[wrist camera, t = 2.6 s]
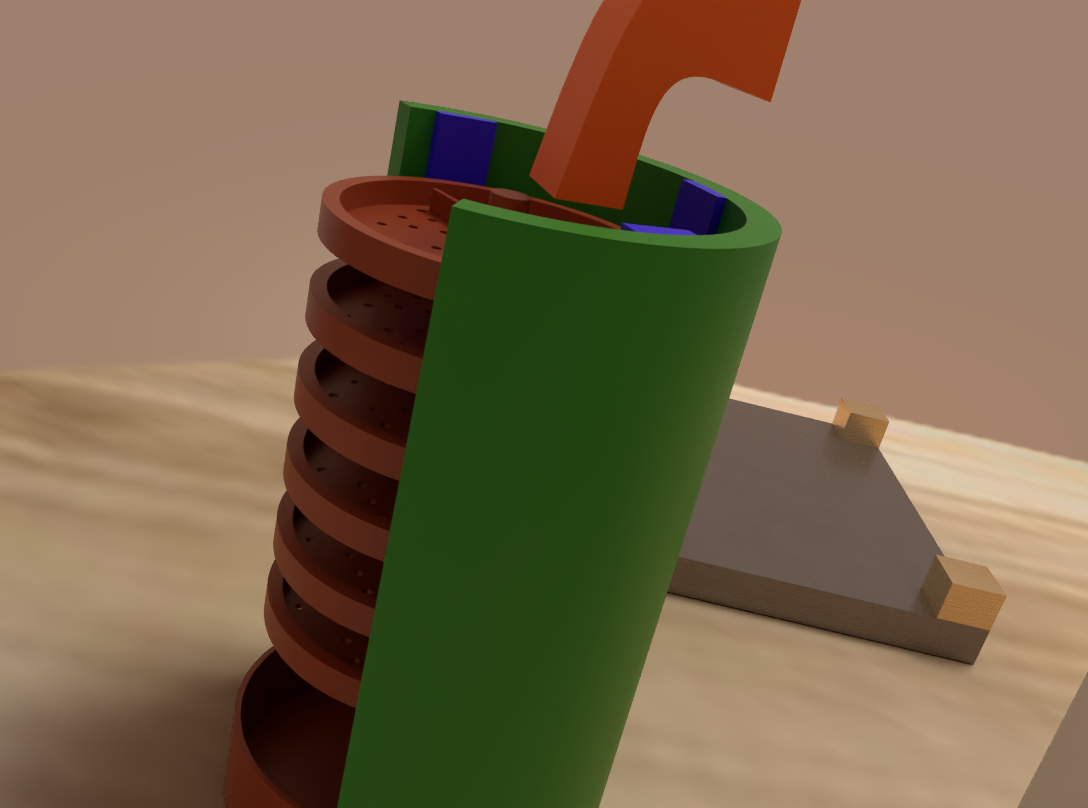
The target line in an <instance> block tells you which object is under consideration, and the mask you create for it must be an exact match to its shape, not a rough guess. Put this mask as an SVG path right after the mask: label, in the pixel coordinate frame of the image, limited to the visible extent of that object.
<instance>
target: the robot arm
mask: <svg viewBox="0 0 1088 808" xmlns="http://www.w3.org/2000/svg"><path fill="white" fill-rule="evenodd" d="M1017 808H1088V672H1087V674H1086V676H1085V678H1084V680H1083V682H1082V684H1081V686H1080V688H1079V690H1078V692H1077V694H1076V695H1075V697H1074V699H1073V701H1072V703H1071V705H1070V707H1069V709H1068V711H1067V713H1066V715H1065V717H1064V719H1063V721H1062V722H1061V724H1060V726H1059V728H1058V730H1057V732H1056V734H1055V736H1054V738H1053V740H1052V742H1051V744H1050V746H1049V748H1048V750H1047V751H1046V753H1045V755H1044V757H1043V759H1042V761H1041V763H1040V765H1039V767H1038V769H1037V771H1036V773H1035V775H1034V777H1033V778H1032V780H1031V782H1030V784H1029V786H1028V788H1027V790H1026V792H1025V794H1024V796H1023V798H1022V800H1021V802H1020V804H1019V806H1018V807H1017Z"/></svg>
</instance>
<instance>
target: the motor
mask: <svg viewBox="0 0 1088 808" xmlns="http://www.w3.org/2000/svg"><path fill="white" fill-rule="evenodd" d="M800 2H801V0H604V1H603V2H602V4H601V6H600V7H599V9H598V11H597V13H596V15H595V17H594V18H593V20H592V22H591V24H590V26H589V29H588V30H587V33H586V35H585V36H584V39H583V41H582V43H581V45H580V47H579V50H578V52H577V55H576V57H575V59H574V62H573V64H572V66H571V69H570V71H569V73H568V76H567V78H566V81H565V83H564V85H563V88H562V90H561V93H560V95H559V98H558V101H557V103H556V106H555V108H554V111H553V114H552V116H551V119H550V121H549V124H548V127H547V129H545V128H541V127H537V126H533V125H528V124H524V123H520V122H515V121H510V120H506V119H502V118H497V117H492V116H487V115H482V114H477V113H472V112H467V111H462V110H457V109H451V108H445V107H439V106H434V105H428V104H421V103H415V102H408V101H400V102H399V108H398V114H397V121H396V126H395V132H394V138H393V145H392V150H391V157H390V163H389V169H388V175H387V176H366V177H356V178H349V179H344V180H341V181H337V182H335V183H333V184H331V185H329V186H328V187H326V188H325V190H324V191H323V194H322V201H321V208H320V215H319V222H318V230H317V232H318V236H319V238H320V240H321V242H322V243H323V244H324V246H325V247H326V248H327V249H328V250H329V251H330V252H331V253H333V254H334V255H335V256H336V257H338V258H339V259H336V260H333V261H331V262H328V263H326V264H324V265H323V266H321V267H320V268H318V269H317V270H316V271H315V272H314V273H313V275H312V277H311V280H310V286H309V292H308V300H307V307H306V314H305V318H306V323H307V326H308V328H309V330H310V332H311V334H312V335H313V336H314V338H315V339H316V340H315V341H314V342H312V343H311V344H310V345H309V346H308V347H307V348H306V349H305V350H304V351H303V353H302V354H301V356H300V359H299V363H298V370H297V377H296V385H295V392H294V403H295V407H296V410H297V412H298V414H299V416H300V418H299V419H298V420H297V421H296V422H295V423H294V425H293V427H292V428H291V430H290V433H289V436H288V441H287V448H286V455H285V462H284V471H283V475H284V482H285V486H286V489H287V491H286V492H285V493H284V495H283V497H282V499H281V501H280V504H279V507H278V512H277V519H276V526H275V533H274V542H273V548H274V555H275V561H274V563H273V564H272V567H271V569H270V572H269V577H268V583H267V590H266V597H265V604H264V620H265V625H266V629H267V632H268V635H269V638H270V640H271V642H272V644H273V647H271V648H270V649H269V650H267V651H266V652H265V653H264V654H263V655H262V656H261V657H260V658H259V659H258V660H257V661H256V662H255V663H254V664H253V666H252V667H251V668H250V670H249V671H248V672H247V674H246V676H245V678H244V679H243V681H242V684H241V686H240V688H239V691H238V694H237V698H236V704H235V711H234V719H233V726H232V734H231V741H230V748H229V756H228V763H227V771H226V778H225V791H224V794H225V805H226V808H599V805H600V801H601V798H602V795H603V792H604V789H605V786H606V783H607V779H608V776H609V773H610V770H611V767H612V764H613V761H614V758H615V754H616V751H617V748H618V745H619V742H620V739H621V736H622V732H623V729H624V726H625V723H626V720H627V717H628V714H629V710H630V707H631V704H632V701H633V698H634V695H635V692H636V688H637V685H638V682H639V679H640V676H641V673H642V670H643V667H644V663H645V660H646V657H647V654H648V651H649V648H650V645H651V641H652V638H653V635H654V632H655V629H656V626H657V623H658V619H659V616H660V613H661V610H662V607H663V604H664V601H665V597H666V594H667V591H668V588H669V585H670V582H671V579H672V575H673V572H674V569H675V566H676V563H677V560H678V557H679V554H680V550H681V547H682V544H683V541H684V538H685V535H686V532H687V528H688V525H689V522H690V519H691V516H692V513H693V510H694V506H695V503H696V500H697V497H698V494H699V491H700V488H701V484H702V481H703V478H704V475H705V472H706V469H707V466H708V462H709V459H710V456H711V453H712V450H713V447H714V444H715V441H716V437H717V434H718V431H719V428H720V425H721V422H722V419H723V415H724V412H725V409H726V406H727V403H728V400H729V397H730V393H731V390H732V387H733V384H734V381H735V378H736V375H737V371H738V368H739V365H740V362H741V359H742V356H743V353H744V349H745V346H746V343H747V340H748V337H749V334H750V331H751V328H752V324H753V321H754V318H755V315H756V312H757V309H758V305H759V302H760V299H761V296H762V293H763V290H764V287H765V283H766V280H767V277H768V274H769V271H770V268H771V264H772V262H773V258H774V255H775V252H776V249H777V246H778V243H779V240H780V237H781V233H782V228H781V225H780V224H779V222H778V221H777V220H776V218H774V217H773V216H772V215H771V214H770V213H769V212H768V211H766V210H765V209H763V208H762V207H761V206H759V205H757V204H756V203H754V202H753V201H751V200H749V199H747V198H745V197H744V196H741V195H740V194H738V193H736V192H734V191H732V190H729V189H727V188H725V187H723V186H721V185H718V184H716V183H714V182H712V181H709V180H707V179H705V178H702V177H700V176H697V175H695V174H692V173H689V172H687V171H684V170H682V169H679V168H676V167H673V166H670V165H668V164H665V163H662V162H659V161H656V160H653V159H650V158H647V157H644V156H641V155H639V152H640V149H641V146H642V142H643V139H644V136H645V133H646V131H647V128H648V125H649V123H650V120H651V118H652V116H653V113H654V111H655V109H656V107H657V106H658V104H659V102H660V100H661V99H662V97H663V96H664V94H665V93H666V92H667V90H669V89H670V88H671V87H672V86H673V85H674V84H675V83H677V82H678V81H680V80H682V79H684V78H688V77H706V78H710V79H713V80H716V81H718V82H720V83H722V84H725V85H727V86H730V87H732V88H735V89H737V90H740V91H742V92H745V93H747V94H751V95H753V96H755V97H758V98H760V99H763V100H766V101H769V102H771V99H772V96H773V92H774V89H775V86H776V82H777V79H778V75H779V72H780V69H781V66H782V62H783V59H784V56H785V52H786V49H787V46H788V42H789V39H790V36H791V32H792V29H793V25H794V22H795V19H796V15H797V12H798V9H799V5H800Z"/></svg>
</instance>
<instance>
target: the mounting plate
mask: <svg viewBox="0 0 1088 808" xmlns="http://www.w3.org/2000/svg"><path fill="white" fill-rule="evenodd" d="M888 423H889V421H888V419H887V418H886V417H885V415H884V414H883V412H882V411H881V409H880V408H879V407H877V406H873V405H869V404H865V403H861V402H857V401H853V400H849V399H844V398H842V399H841V402H840V404H839V407H838V409H837V412H836V415H835V417H834V420H833V423H832V424H831V423H827V422H823V421H819V420H815V419H810V418H806V417H802V416H798V415H794V414H790V413H786V412H782V411H778V410H774V409H770V408H766V407H761V406H757V405H753V404H749V403H745V402H741V401H737V400H733V399H729V400H728V403H727V406H726V409H725V412H724V415H723V419H722V422H721V425H720V428H719V431H718V434H717V437H716V441H715V444H714V447H713V450H712V453H711V456H710V459H709V462H708V466H707V469H706V472H705V475H704V478H703V481H702V484H701V488H700V491H699V494H698V497H697V500H696V503H695V506H694V510H693V513H692V516H691V519H690V522H689V525H688V528H687V532H686V535H685V538H684V541H683V544H682V547H681V550H680V554H679V557H678V560H677V563H676V566H675V569H674V572H673V575H672V579H671V582H670V585H669V588H668V591H667V592H670V593H674V594H679V595H683V596H687V597H691V598H696V599H700V600H704V601H708V602H713V603H717V604H721V605H725V606H729V607H734V608H738V609H742V610H746V611H751V612H755V613H759V614H763V615H768V616H772V617H776V618H780V619H785V620H789V621H793V622H797V623H801V624H806V625H810V626H814V627H818V628H823V629H827V630H831V631H835V632H840V633H844V634H848V635H852V636H857V637H861V638H865V639H869V640H873V641H878V642H882V643H886V644H890V645H895V646H899V647H903V648H907V649H912V650H916V651H920V652H924V653H929V654H933V655H937V656H941V657H945V658H950V659H954V660H958V661H962V662H967V663H971V664H974V663H975V660H976V658H977V656H978V654H979V652H980V650H981V648H982V646H983V644H984V642H985V640H986V638H987V636H988V634H989V631H990V629H991V627H992V625H993V623H994V621H995V619H996V617H997V615H998V613H999V611H1000V609H1001V607H1002V604H1003V602H1004V600H1005V598H1006V594H1005V593H1004V591H1003V590H1002V588H1001V587H1000V585H999V584H998V582H997V581H996V580H995V578H994V577H993V575H992V574H991V572H990V571H989V569H988V568H987V567H986V566H981V565H977V564H973V563H969V562H965V561H961V560H956V559H952V558H948V557H945V556H944V555H943V553H942V551H941V550H940V548H939V547H938V545H937V543H936V542H935V540H934V538H933V537H932V535H931V533H930V532H929V530H928V529H927V527H926V525H925V524H924V522H923V520H922V519H921V517H920V516H919V514H918V512H917V511H916V509H915V507H914V506H913V504H912V502H911V501H910V499H909V498H908V496H907V494H906V493H905V491H904V489H903V488H902V486H901V484H900V483H899V481H898V480H897V478H896V476H895V475H894V473H893V471H892V470H891V468H890V466H889V465H888V463H887V462H886V460H885V458H884V457H883V455H882V453H881V452H880V450H879V449H878V448H879V446H880V443H881V441H882V438H883V436H884V433H885V431H886V428H887V426H888Z"/></svg>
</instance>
